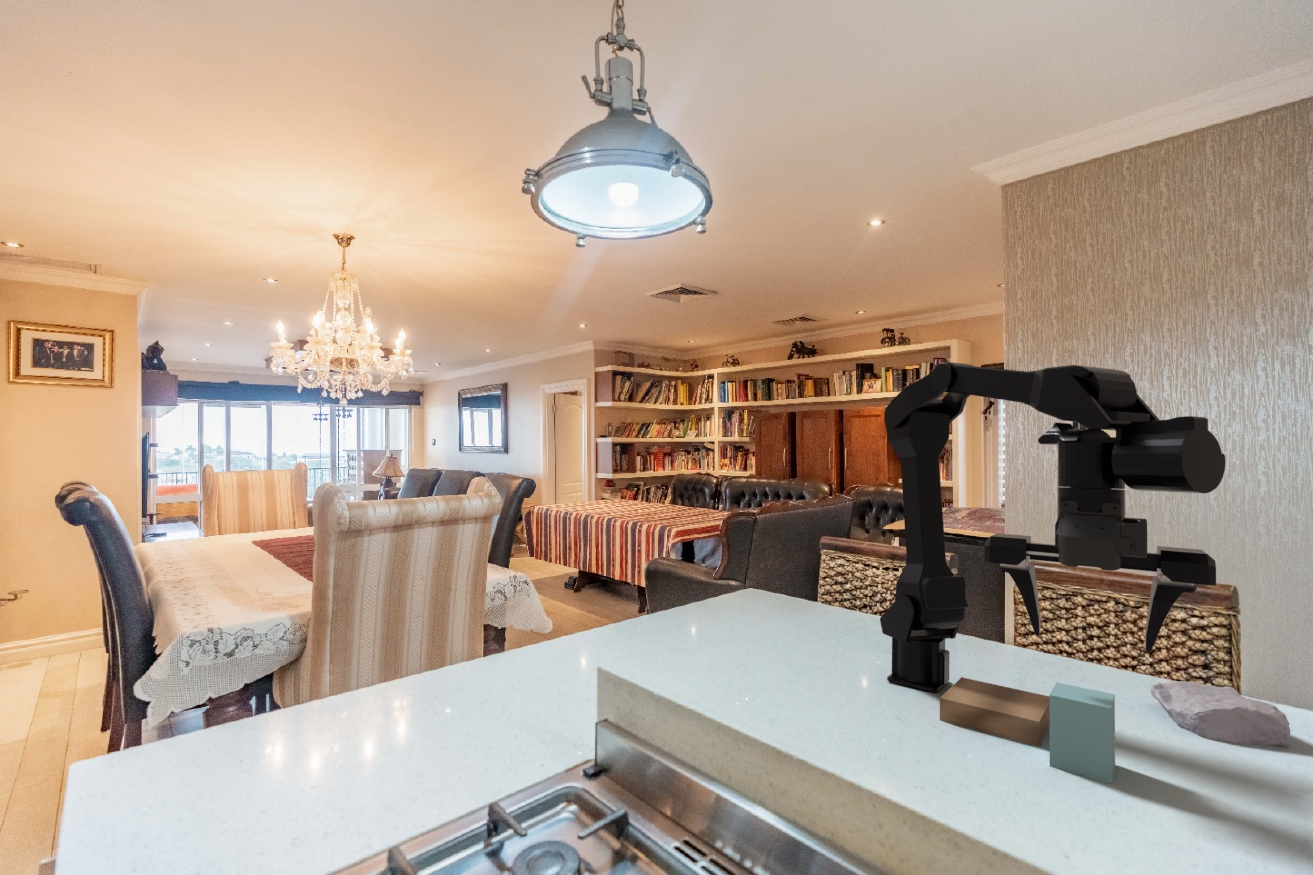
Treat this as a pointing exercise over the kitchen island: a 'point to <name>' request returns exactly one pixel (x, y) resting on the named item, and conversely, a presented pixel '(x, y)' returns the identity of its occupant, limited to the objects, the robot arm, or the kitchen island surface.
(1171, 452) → the robot arm
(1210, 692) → the stone block
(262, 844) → the kitchen island surface
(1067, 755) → the teal block
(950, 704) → the walnut base block
